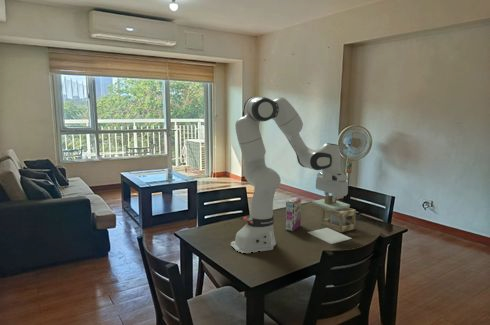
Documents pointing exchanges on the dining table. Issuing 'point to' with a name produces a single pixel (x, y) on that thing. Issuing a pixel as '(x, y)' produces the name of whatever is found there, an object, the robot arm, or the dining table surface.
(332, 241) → the mat
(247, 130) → the robot arm
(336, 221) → the medicine box
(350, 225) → the crate
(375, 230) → the dining table surface
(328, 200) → the lid
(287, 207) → the candy bar box
